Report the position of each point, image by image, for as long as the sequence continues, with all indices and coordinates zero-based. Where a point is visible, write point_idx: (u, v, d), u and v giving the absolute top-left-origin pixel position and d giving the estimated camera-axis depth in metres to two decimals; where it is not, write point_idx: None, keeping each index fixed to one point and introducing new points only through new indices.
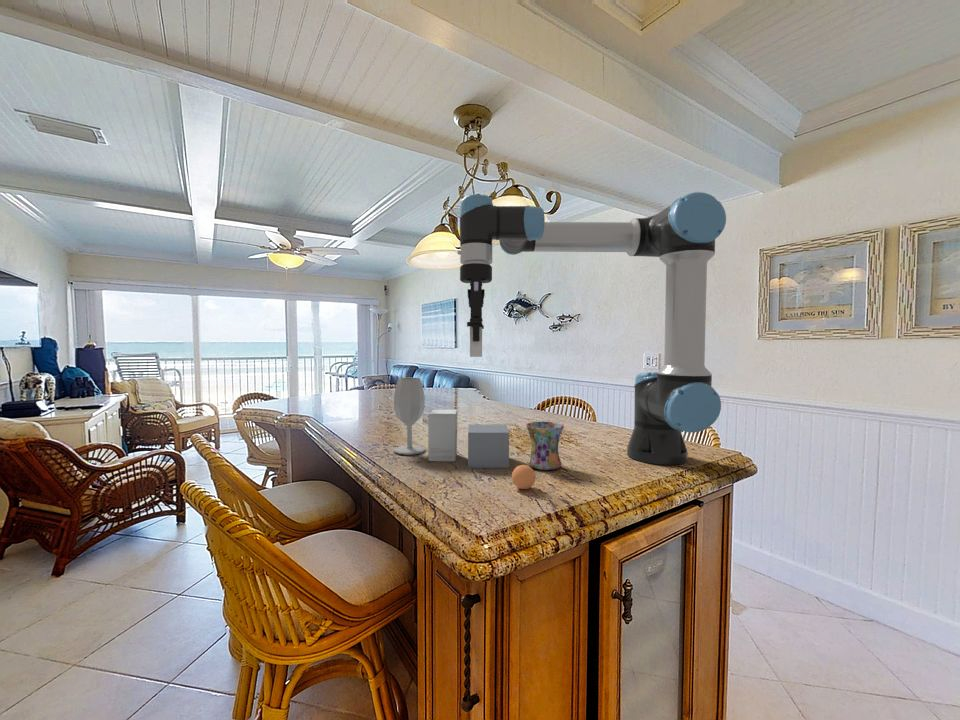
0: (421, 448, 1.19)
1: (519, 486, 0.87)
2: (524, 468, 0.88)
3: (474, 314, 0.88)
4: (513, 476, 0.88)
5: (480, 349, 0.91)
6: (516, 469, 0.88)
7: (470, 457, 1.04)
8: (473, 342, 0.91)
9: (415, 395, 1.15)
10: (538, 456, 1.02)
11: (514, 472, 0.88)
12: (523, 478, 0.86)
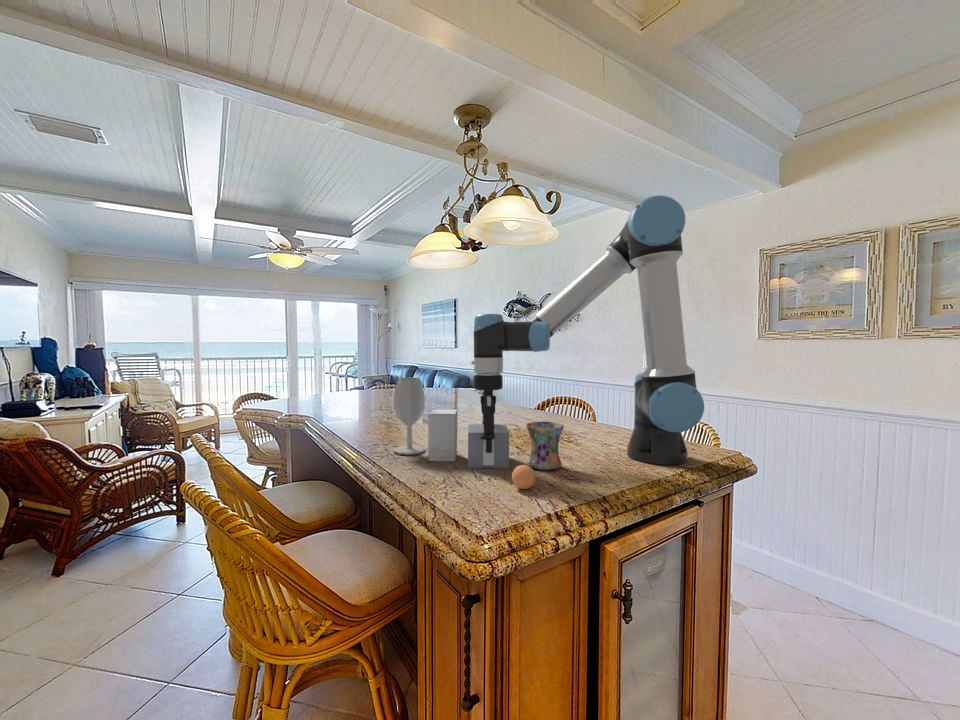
0: (421, 448, 1.19)
1: (519, 486, 0.87)
2: (524, 468, 0.88)
3: (488, 431, 1.00)
4: (513, 476, 0.88)
5: (492, 458, 1.03)
6: (516, 469, 0.88)
7: (470, 457, 1.04)
8: None
9: (415, 395, 1.15)
10: (538, 456, 1.02)
11: (514, 472, 0.88)
12: (523, 478, 0.86)
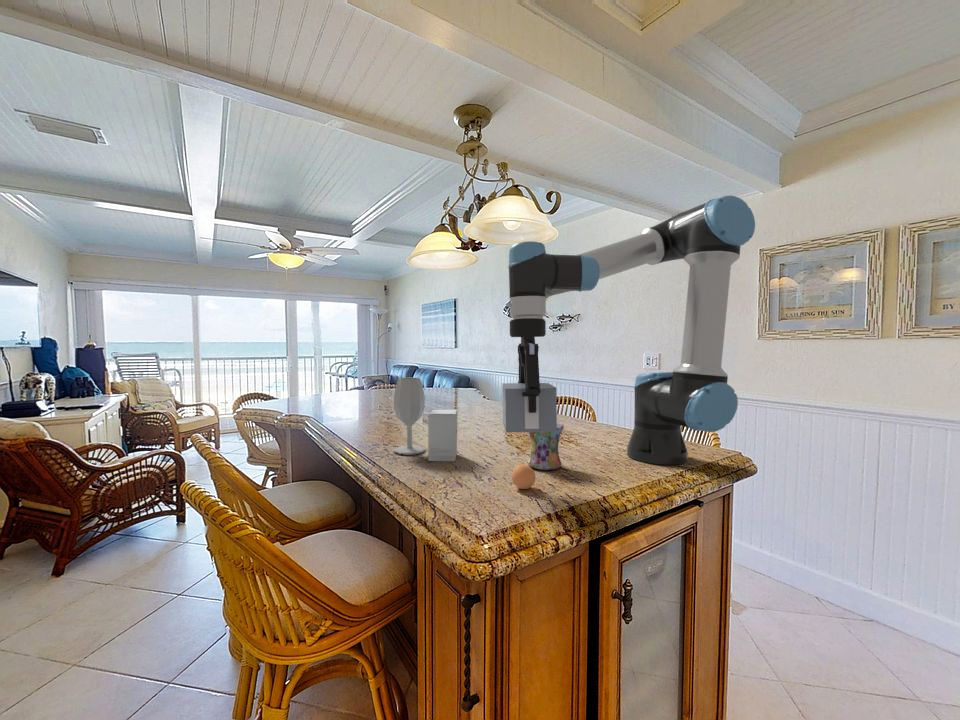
0: (421, 448, 1.19)
1: (519, 486, 0.87)
2: (524, 468, 0.88)
3: (532, 384, 0.80)
4: (513, 476, 0.88)
5: (536, 420, 0.83)
6: (516, 469, 0.88)
7: (508, 419, 0.83)
8: (529, 413, 0.83)
9: (415, 395, 1.15)
10: (538, 456, 1.02)
11: (514, 472, 0.88)
12: (523, 478, 0.86)
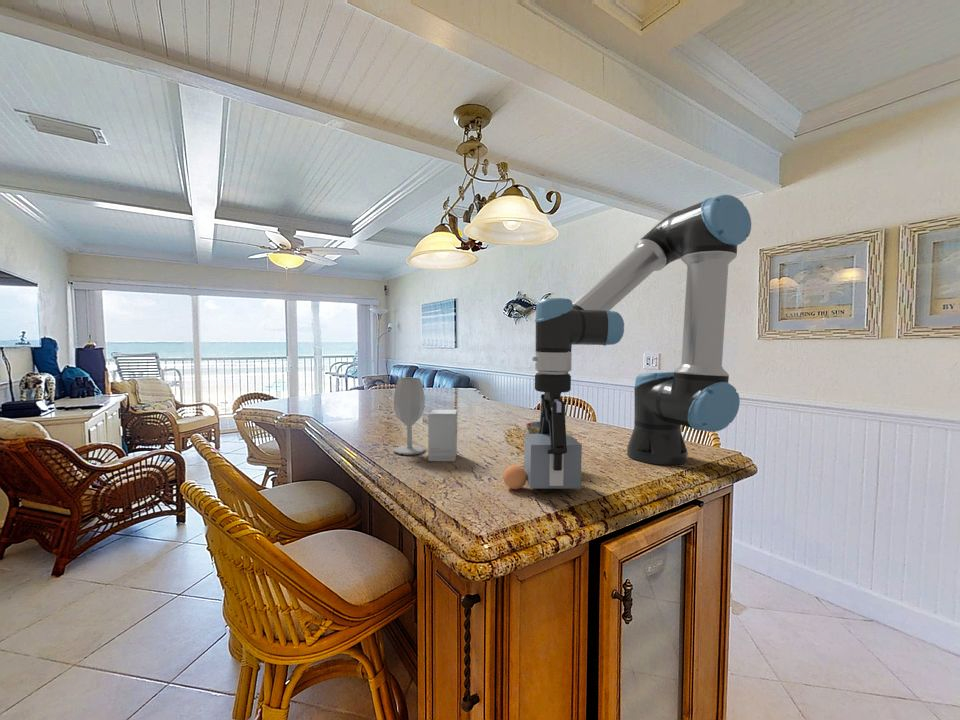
0: (421, 448, 1.19)
1: (515, 488, 0.87)
2: (509, 469, 0.88)
3: (558, 443, 0.80)
4: (505, 482, 0.88)
5: (561, 477, 0.83)
6: (504, 475, 0.88)
7: (533, 475, 0.84)
8: (554, 470, 0.83)
9: (415, 395, 1.15)
10: None
11: (504, 479, 0.88)
12: (513, 480, 0.86)
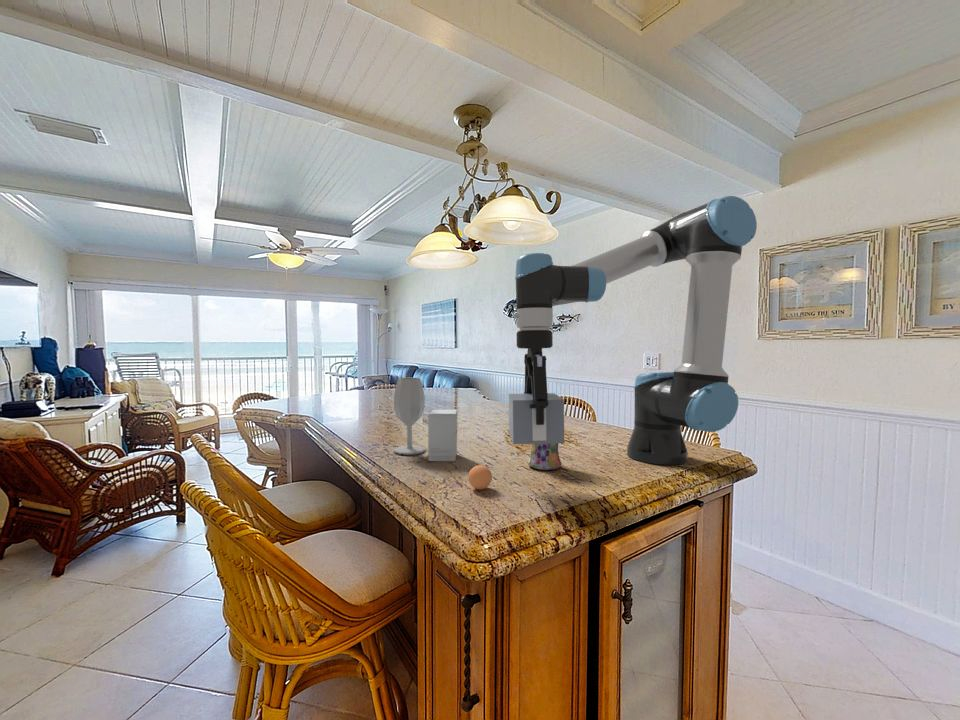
0: (421, 448, 1.19)
1: (481, 471, 0.87)
2: (484, 488, 0.88)
3: (540, 397, 0.80)
4: (490, 475, 0.88)
5: (544, 432, 0.83)
6: (490, 482, 0.88)
7: (516, 431, 0.83)
8: (536, 425, 0.83)
9: (415, 395, 1.15)
10: (538, 456, 1.02)
11: (491, 479, 0.88)
12: (482, 482, 0.86)
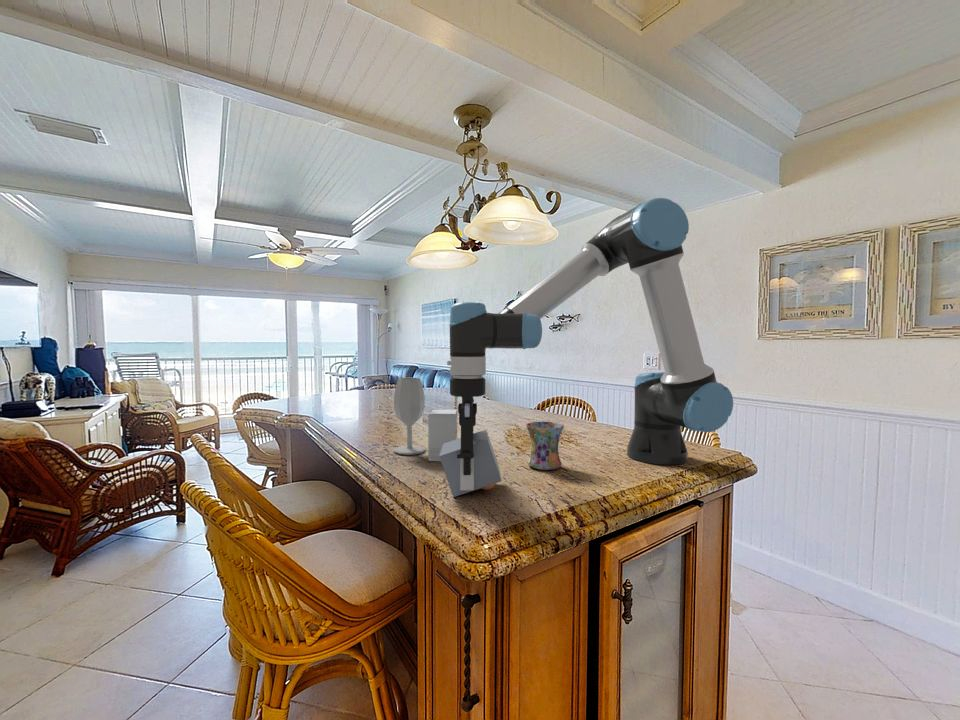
0: (421, 448, 1.19)
1: None
2: (485, 489, 0.88)
3: (465, 448, 0.80)
4: None
5: (471, 482, 0.83)
6: (493, 486, 0.88)
7: (452, 484, 0.84)
8: None
9: (415, 395, 1.15)
10: (538, 456, 1.02)
11: (495, 484, 0.88)
12: None
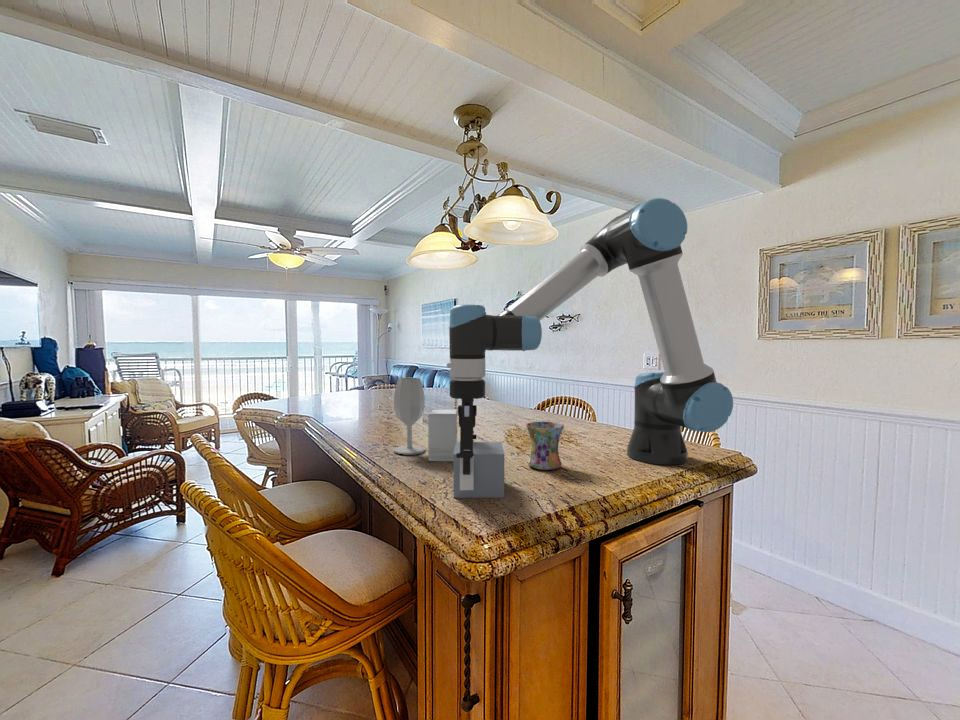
0: (421, 448, 1.19)
1: None
2: None
3: (465, 447, 0.79)
4: None
5: (471, 482, 0.82)
6: None
7: (456, 485, 0.84)
8: None
9: (415, 395, 1.15)
10: (538, 456, 1.02)
11: None
12: None
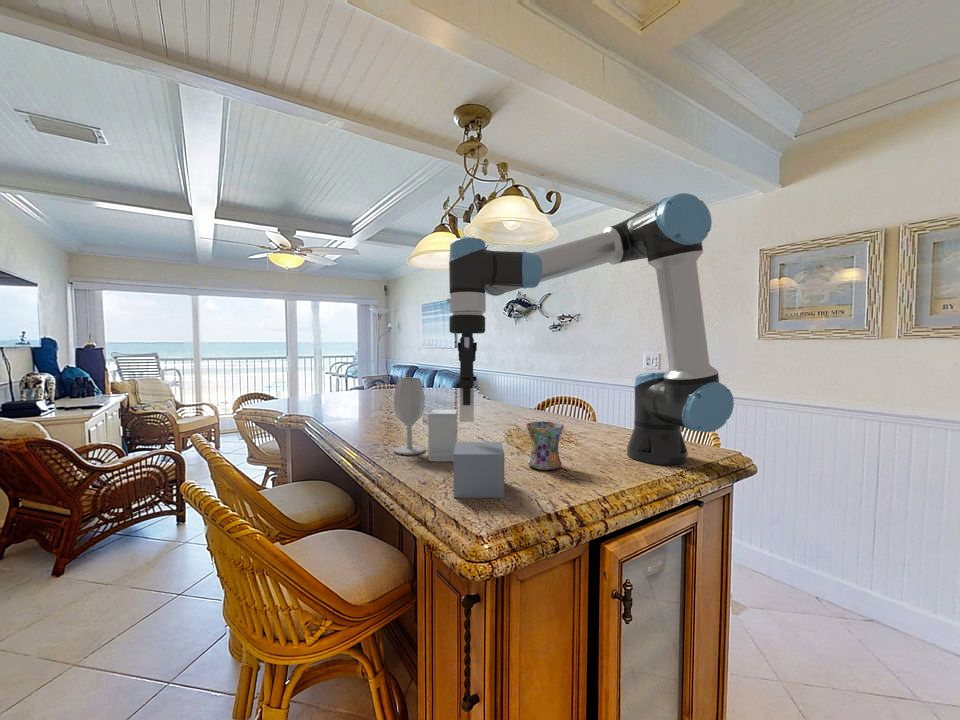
0: (421, 448, 1.19)
1: None
2: None
3: (465, 376, 0.78)
4: None
5: (471, 413, 0.81)
6: None
7: (456, 485, 0.84)
8: (463, 405, 0.81)
9: (415, 395, 1.15)
10: (538, 456, 1.02)
11: None
12: None
